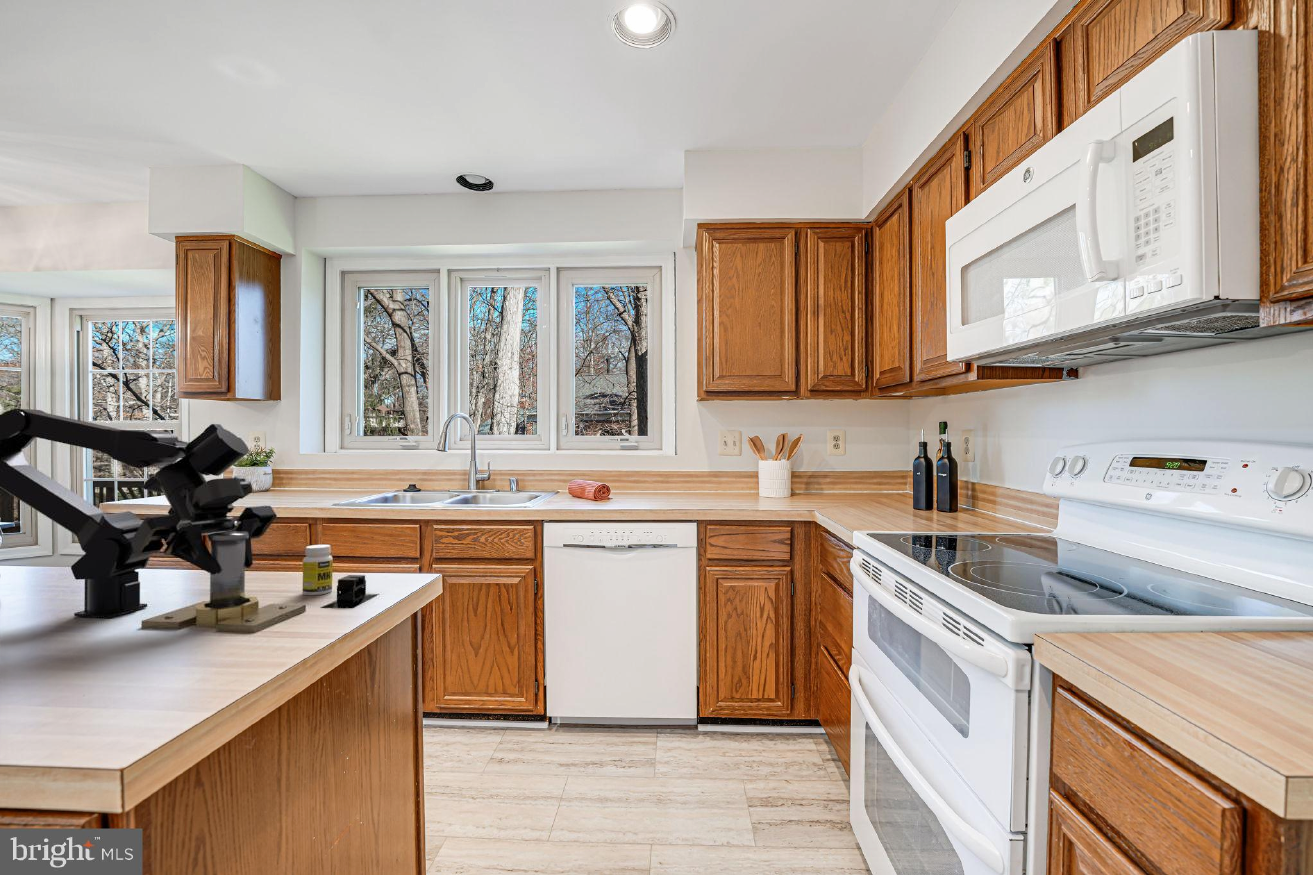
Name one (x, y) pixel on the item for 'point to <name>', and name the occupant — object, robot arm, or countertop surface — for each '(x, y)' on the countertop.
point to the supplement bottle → (317, 570)
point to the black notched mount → (350, 592)
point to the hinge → (226, 616)
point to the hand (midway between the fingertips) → (233, 569)
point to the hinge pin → (228, 569)
